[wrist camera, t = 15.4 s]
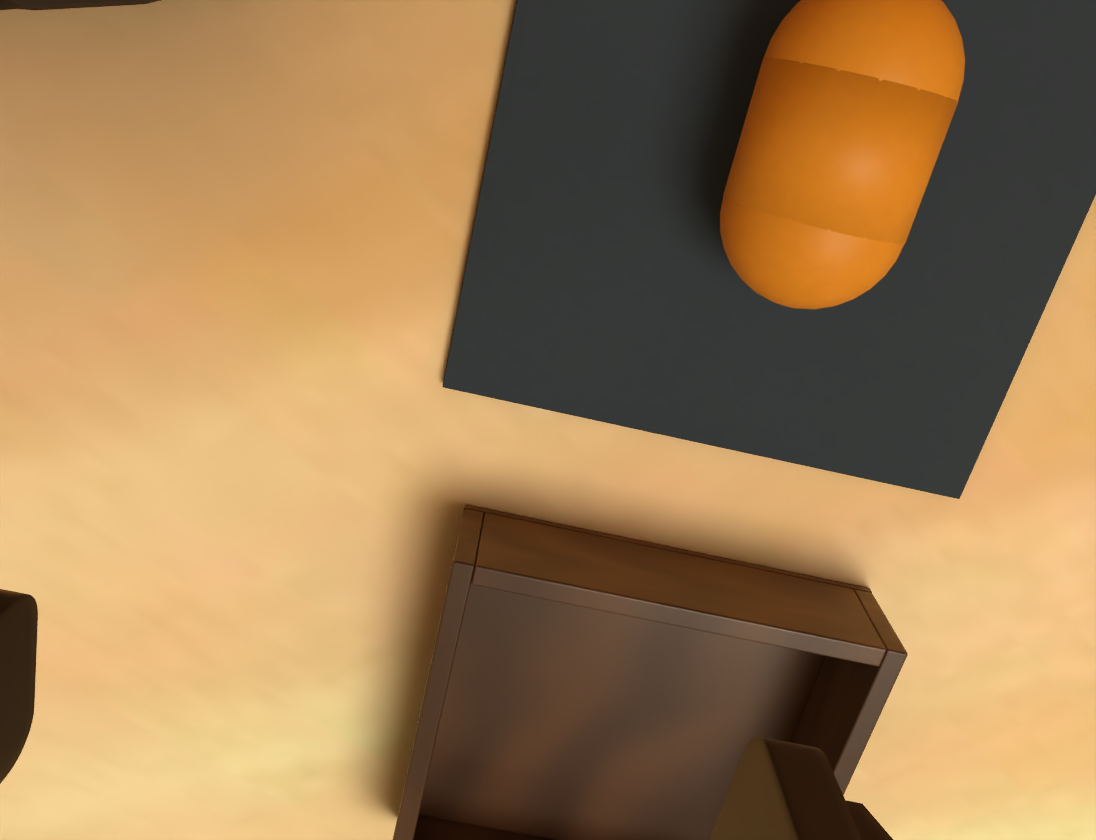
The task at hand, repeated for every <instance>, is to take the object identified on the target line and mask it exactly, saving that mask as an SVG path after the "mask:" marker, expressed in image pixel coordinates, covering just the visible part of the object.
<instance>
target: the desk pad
mask: <svg viewBox="0 0 1096 840" xmlns="http://www.w3.org/2000/svg"><path fill="white" fill-rule="evenodd" d="M800 1H801V0H517V2H516V7H515V12H514V17H513V22H512V28H511V33H510V38H509V43H508V48H507V54H506V59H505V64H504V69H503V74H502V80H501V85H500V90H499V95H498V100H497V106H496V111H495V116H494V121H493V126H492V132H491V137H490V142H489V147H488V152H487V158H486V163H485V168H484V173H483V178H482V184H481V189H480V194H479V199H478V204H477V210H476V215H475V220H474V225H473V230H472V236H471V241H470V246H469V251H468V256H467V262H466V267H465V272H464V277H463V282H462V288H461V293H460V298H459V303H458V308H457V314H456V319H455V324H454V329H453V334H452V340H451V345H450V350H449V355H448V360H447V366H446V371H445V376H444V381H443V387H445V388H449V389H454V390H459V391H463V392H468V393H473V394H477V395H482V396H486V397H491V398H496V399H500V400H505V401H509V402H514V403H519V404H523V405H528V406H533V407H537V408H542V409H546V410H551V411H556V412H560V413H565V414H569V415H574V416H579V417H583V418H588V419H593V420H597V421H602V422H606V423H611V424H616V425H620V426H625V427H629V428H634V429H639V430H643V431H648V432H653V433H657V434H662V435H666V436H671V437H676V438H680V439H685V440H689V441H694V442H699V443H703V444H708V445H713V446H717V447H722V448H726V449H731V450H736V451H740V452H745V453H749V454H754V455H759V456H763V457H768V458H773V459H777V460H782V461H786V462H791V463H796V464H800V465H805V466H809V467H814V468H819V469H823V470H828V471H833V472H837V473H842V474H846V475H851V476H856V477H860V478H865V479H870V480H874V481H879V482H883V483H888V484H893V485H897V486H902V487H906V488H911V489H916V490H920V491H925V492H930V493H934V494H939V495H943V496H948V497H953V498H957V499H959V498H960V496H961V494H962V492H963V490H964V487H965V485H966V483H967V481H968V478H969V476H970V474H971V472H972V469H973V467H974V465H975V463H976V460H977V458H978V456H979V454H980V452H981V449H982V447H983V445H984V443H985V440H986V438H987V436H988V434H989V431H990V429H991V427H992V425H993V423H994V420H995V418H996V416H997V414H998V411H999V409H1000V407H1001V405H1002V402H1003V400H1004V398H1005V396H1006V393H1007V391H1008V389H1009V387H1010V385H1011V382H1012V380H1013V378H1014V376H1015V373H1016V371H1017V369H1018V367H1019V364H1020V362H1021V360H1022V358H1023V356H1024V353H1025V351H1026V349H1027V347H1028V344H1029V342H1030V340H1031V338H1032V335H1033V333H1034V331H1035V329H1036V326H1037V324H1038V322H1039V320H1040V318H1041V315H1042V313H1043V311H1044V309H1045V306H1046V304H1047V302H1048V300H1049V297H1050V295H1051V293H1052V291H1053V289H1054V286H1055V284H1056V282H1057V280H1058V277H1059V275H1060V273H1061V271H1062V268H1063V266H1064V264H1065V262H1066V260H1067V257H1068V255H1069V253H1070V251H1071V248H1072V246H1073V244H1074V242H1075V239H1076V237H1077V235H1078V233H1079V230H1080V228H1081V226H1082V224H1083V222H1084V219H1085V217H1086V215H1087V213H1088V210H1089V208H1090V206H1091V204H1092V201H1093V199H1094V197H1095V195H1096V0H941V1H943V2H944V4H945V5H946V7H947V8H948V10H949V11H950V13H951V14H952V16H953V17H954V19H955V20H956V23H957V26H958V29H959V31H960V34H961V37H962V40H963V47H964V55H965V68H964V81H963V85H962V89H961V92H960V96H959V100H958V104H957V107H956V110H955V112H954V115H953V118H952V120H951V123H950V126H949V128H948V131H947V134H946V136H945V139H944V142H943V144H942V147H941V150H940V152H939V155H938V158H937V160H936V163H935V166H934V168H933V171H932V174H931V176H930V179H929V182H928V184H927V187H926V190H925V192H924V195H923V198H922V200H921V203H920V206H919V208H918V211H917V214H916V216H915V219H914V222H913V224H912V227H911V230H910V232H909V235H908V238H907V240H906V243H905V244H904V246H903V248H902V250H901V252H900V254H899V256H898V258H897V260H896V262H895V263H894V264H893V266H892V267H891V268H890V270H889V271H888V272H887V274H886V275H885V276H884V277H883V278H882V279H881V280H880V281H879V282H878V283H877V284H875V285H874V286H873V287H872V288H871V289H870V290H868V291H866V292H865V293H863V294H861V295H860V296H858V297H857V298H855V299H853V300H850V301H847V302H845V303H842V304H839V305H837V306H833V307H827V308H821V309H797V308H790V307H786V306H782V305H779V304H776V303H774V302H772V301H770V300H768V299H766V298H764V297H763V296H761V295H759V294H757V293H756V292H754V291H753V290H752V289H751V288H750V287H749V286H748V285H747V284H746V283H745V282H743V281H742V279H741V278H740V277H739V275H738V274H737V273H736V271H735V270H734V268H733V267H732V266H731V264H730V262H729V259H728V257H727V255H726V252H725V250H724V247H723V242H722V238H721V233H720V211H721V206H722V201H723V194H724V191H725V187H726V184H727V180H728V177H729V174H730V170H731V167H732V163H733V160H734V156H735V153H736V150H737V146H738V143H739V139H740V136H741V132H742V129H743V126H744V122H745V119H746V115H747V112H748V108H749V105H750V102H751V98H752V95H753V91H754V88H755V84H756V81H757V78H758V74H759V71H760V67H761V64H762V60H763V58H764V56H765V53H766V51H767V48H768V45H769V43H770V40H771V38H772V36H773V35H774V33H775V31H776V30H777V28H778V26H779V25H780V23H781V22H782V20H783V19H784V18H785V16H786V15H787V14H788V13H789V12H790V11H791V10H792V9H793V7H794V6H795V5H796V4H797V3H798V2H800Z"/></svg>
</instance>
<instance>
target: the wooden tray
mask: <svg viewBox="0 0 1096 840" xmlns="http://www.w3.org/2000/svg"><path fill="white" fill-rule="evenodd" d="M906 657H907V652H906V650H905V649H904V647H903V645H902V643H901V642H900V640H899V638H898V637H897V635H896V633H895V632H894V630H893V628H892V626H891V625H890V623H889V621H888V620H887V618H886V616H885V615H884V613H883V611H882V609H881V608H880V606H879V604H878V603H877V601H876V599H875V598H874V596H873V594H872V591H871V590H870V589H869V588H865V587H860V586H855V585H851V584H846V583H841V582H836V581H831V580H827V579H822V578H817V577H812V576H807V575H802V574H798V573H793V572H788V571H783V570H778V569H774V568H769V567H764V566H759V565H754V564H750V563H745V562H740V561H735V560H730V559H726V558H721V557H716V556H711V555H706V554H701V553H697V552H692V551H687V550H682V549H677V548H673V547H668V546H663V545H658V544H653V543H649V542H644V541H639V540H634V539H629V538H625V537H620V536H615V535H610V534H605V533H600V532H596V531H591V530H586V529H581V528H576V527H572V526H567V525H562V524H557V523H552V522H548V521H543V520H538V519H533V518H528V517H524V516H519V515H514V514H509V513H504V512H499V511H495V510H490V509H485V508H480V507H475V506H471V505H465V507H464V511H463V516H462V520H461V525H460V529H459V533H458V538H457V542H456V547H455V551H454V556H453V560H452V565H451V569H450V574H449V579H448V583H447V588H446V593H445V597H444V602H443V607H442V611H441V616H440V621H439V626H438V630H437V635H436V640H435V644H434V649H433V654H432V658H431V663H430V668H429V672H428V677H427V682H426V686H425V691H424V696H423V700H422V705H421V710H420V715H419V719H418V724H417V729H416V733H415V738H414V743H413V747H412V752H411V757H410V761H409V766H408V771H407V775H406V780H405V785H404V789H403V794H402V799H401V804H400V808H399V813H398V818H397V822H396V827H395V832H394V836H393V840H709V839H710V836H711V833H712V830H713V828H714V825H715V823H716V820H717V817H718V815H719V812H720V810H721V807H722V805H723V802H724V800H725V797H726V794H727V792H728V789H729V787H730V784H731V782H732V779H733V777H734V774H735V771H736V769H737V766H738V764H739V761H740V759H741V756H742V754H743V751H744V749H745V747H746V745H747V743H748V742H749V741H750V740H751V739H752V738H753V737H756V736H759V737H764V738H769V739H774V740H780V741H785V742H790V743H795V744H801V745H806V746H811V747H816V748H819V749H821V750H822V751H823V752H824V754H825V755H826V757H827V759H828V761H829V763H830V766H831V768H832V770H833V773H834V775H835V777H836V780H837V782H838V785H839V787H840V789H841V792H842V794H843V795H844V793H845V790H846V788H847V786H848V784H849V782H850V779H851V777H852V775H853V773H854V771H855V768H856V766H857V764H858V762H859V760H860V758H861V755H862V753H863V751H864V749H865V747H866V744H867V742H868V740H869V738H870V736H871V733H872V731H873V729H874V727H875V725H876V723H877V720H878V718H879V716H880V714H881V712H882V709H883V707H884V705H885V703H886V701H887V698H888V696H889V694H890V692H891V690H892V688H893V685H894V683H895V681H896V679H897V677H898V674H899V672H900V670H901V668H902V666H903V663H904V661H905V659H906Z"/></svg>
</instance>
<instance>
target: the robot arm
mask: <svg viewBox="0 0 1096 840" xmlns="http://www.w3.org/2000/svg"><path fill="white" fill-rule="evenodd" d="M37 620H38V609H37V604H36V601H35V599H34V598H33V596H31V595H28V594H23V593H18V592H13V591H7V590H2V589H0V783H1V782H2V781H3V780H4V778H5V777H6V776H7V774H8V773H9V772H10V770H11V769H12V767H13V766H14V764H15V762H16V761H17V759H18V757H19V755H20V753H21V751H22V749H23V747H24V745H25V742H26V739H27V737H28V734H29V731H30V727H31V723H32V719H33V714H34V698H35V672H36V646H37ZM709 840H893V839H892V838H891V837H890V835H889V834H888V833H887V832H886V831H885V830H884V829H883V827H882V826H881V825H880V824H879V823H878V822H877V820H876V819H875V818H874V817H873V816H872V815H871V813H870V812H869V811H868V810H867V809H866V808H865V807H864V805H863V804H861V803H856V802H850V801H845V799H844V796H843V794H842V792H841V789H840V787H839V785H838V782H837V780H836V777H835V775H834V773H833V770H832V768H831V766H830V763H829V761H828V759H827V757H826V755H825V754H824V752H823V751H822V750H821V749H819V748H816V747H811V746H806V745H801V744H795V743H790V742H785V741H780V740H774V739H769V738H764V737H759V736H756V737H753V738H752V739H751V740H750V741H749V742H748V743H747V745H746V747H745V749H744V751H743V754H742V756H741V759H740V761H739V764H738V766H737V769H736V771H735V774H734V777H733V779H732V782H731V784H730V787H729V789H728V792H727V794H726V797H725V800H724V802H723V805H722V807H721V810H720V812H719V815H718V817H717V820H716V823H715V825H714V828H713V830H712V833H711V836H710V839H709Z"/></svg>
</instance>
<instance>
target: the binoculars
mask: <svg viewBox="0 0 1096 840" xmlns="http://www.w3.org/2000/svg"><path fill="white" fill-rule="evenodd" d="M156 1H160V0H0V10H6V9H28V10H48V9H65V8H83V7H101V6H119V5H137V4H147V3H151V2H156Z"/></svg>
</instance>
